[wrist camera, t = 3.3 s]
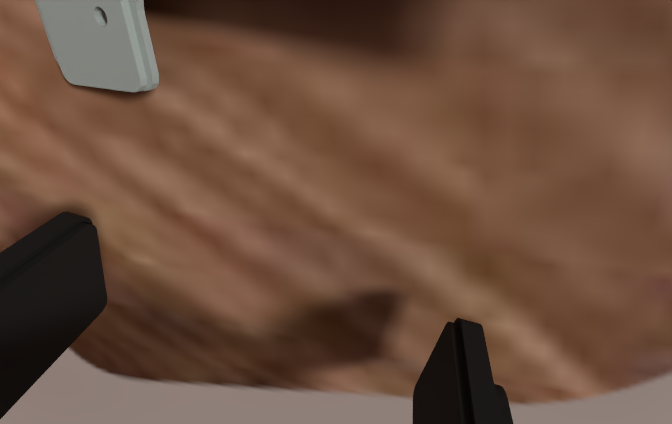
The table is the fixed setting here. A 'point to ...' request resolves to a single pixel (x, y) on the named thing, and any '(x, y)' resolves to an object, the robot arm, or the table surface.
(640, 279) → the table surface
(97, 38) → the metal bracket
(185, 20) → the table surface
